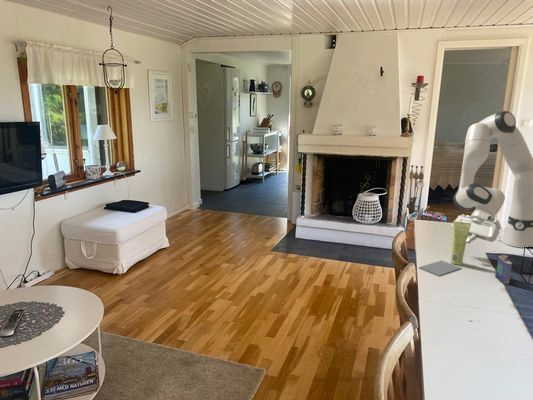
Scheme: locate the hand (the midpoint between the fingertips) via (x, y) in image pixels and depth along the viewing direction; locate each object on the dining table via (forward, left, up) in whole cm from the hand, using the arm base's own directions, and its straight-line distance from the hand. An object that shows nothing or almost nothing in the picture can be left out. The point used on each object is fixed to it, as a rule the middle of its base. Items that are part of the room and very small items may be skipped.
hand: (465, 242), depth 183 cm
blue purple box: (+12, +17, -9) cm, 23 cm away
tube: (+5, -2, -9) cm, 11 cm away
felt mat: (+17, -6, -9) cm, 20 cm away
